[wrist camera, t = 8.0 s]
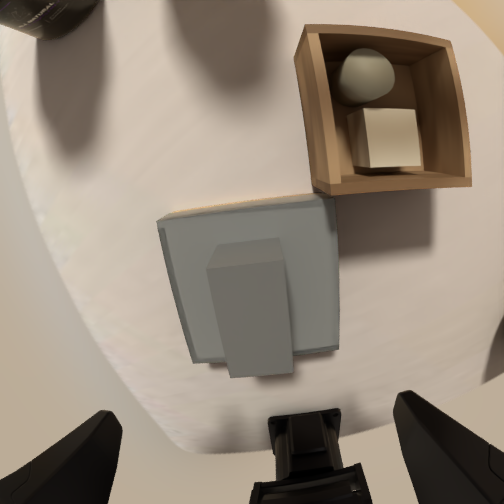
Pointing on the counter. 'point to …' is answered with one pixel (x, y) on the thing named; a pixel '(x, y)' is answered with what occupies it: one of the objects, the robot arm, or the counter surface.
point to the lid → (255, 281)
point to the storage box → (381, 110)
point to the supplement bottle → (44, 16)
